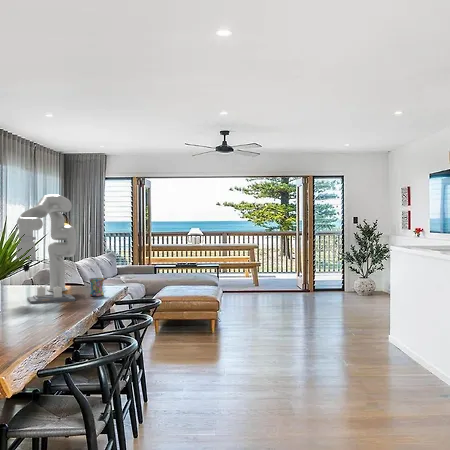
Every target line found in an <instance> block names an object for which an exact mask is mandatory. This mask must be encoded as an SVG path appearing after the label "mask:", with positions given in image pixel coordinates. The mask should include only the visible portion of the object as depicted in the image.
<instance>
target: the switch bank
mask: <svg viewBox="0 0 450 450" xmlns="http://www.w3.org/2000/svg"><path fill="white" fill-rule="evenodd" d="M26 300H27V301H28V303H29V304H30V305H36V304H37V305H38V304H49V303H50V304H51V303H52V304H54V303H64V302H65V303H66V302H76V297H75V296H73V295H71V294H69V293H67V294H66V293H62V297H57V298H54V294H45V296H43V297H37V294H36V295H33V296H27V298H26Z"/></svg>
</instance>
